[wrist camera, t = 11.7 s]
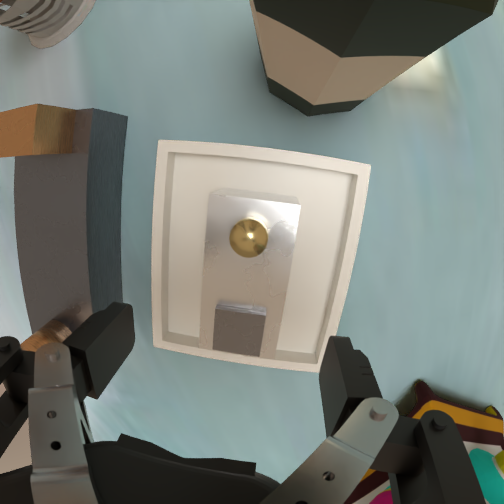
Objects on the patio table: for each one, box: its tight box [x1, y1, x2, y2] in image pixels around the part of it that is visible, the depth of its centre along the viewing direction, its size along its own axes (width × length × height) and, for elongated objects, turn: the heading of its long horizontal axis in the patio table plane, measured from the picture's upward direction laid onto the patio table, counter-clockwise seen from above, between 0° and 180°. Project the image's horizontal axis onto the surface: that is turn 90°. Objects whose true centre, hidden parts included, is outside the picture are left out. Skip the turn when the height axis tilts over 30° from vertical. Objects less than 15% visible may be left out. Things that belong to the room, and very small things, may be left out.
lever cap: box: [199, 188, 301, 360], centre depth 19 cm, size 10×5×6 cm, turn 173°
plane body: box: [0, 104, 128, 352], centre depth 19 cm, size 20×8×9 cm, turn 173°
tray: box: [151, 140, 371, 372], centre depth 22 cm, size 16×14×2 cm
